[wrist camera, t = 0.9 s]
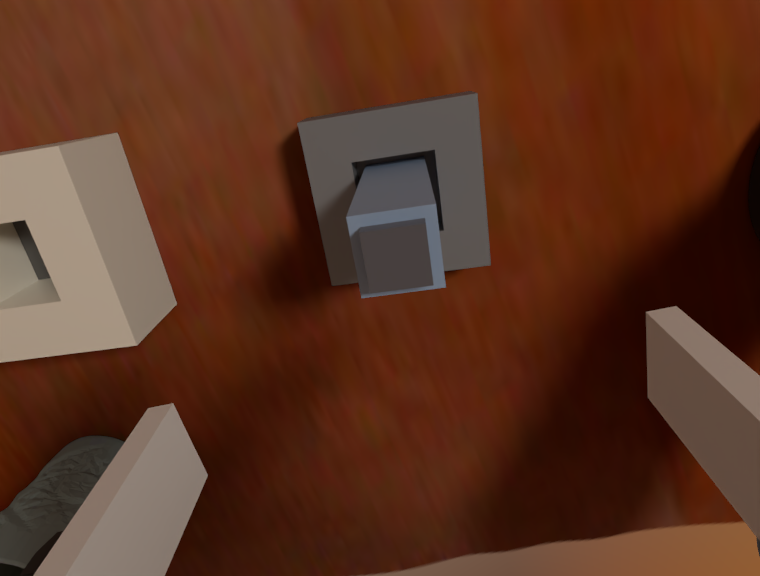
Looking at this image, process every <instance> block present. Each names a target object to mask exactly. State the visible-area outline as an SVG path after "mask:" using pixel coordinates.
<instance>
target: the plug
mask: <svg viewBox="0 0 760 576" xmlns="http://www.w3.org/2000/svg"><path fill="white" fill-rule="evenodd" d="M346 219H347V224H348V230H349V235H350V240H351V245H352V251H353V256H354V261H355V267H356V272H357V277H358V282H359V288H360V293H361V298H367V297H375V296H382V295H390V294H398V293H406V292H413V291H421V290H429V289H437V288H444V287H446V284H445V276H444V267H443V259H442V250H441V242H440V233H439V224H438V216H437V207H436V202H435V198H434V194H433V190H432V186H431V182H430V178H429V174H428V170H427V166H426V162H425V158H424V156H420V157H414V158H407V159H401V160H394V161H388V162H381V163H375V164H369V165H366V166H365V169H364V171H363V174H362V176H361V179H360V182H359V184H358V187H357V189H356V192H355V195H354V197H353V200H352V203H351V205H350V208H349V210H348V213H347V216H346Z"/></svg>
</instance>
